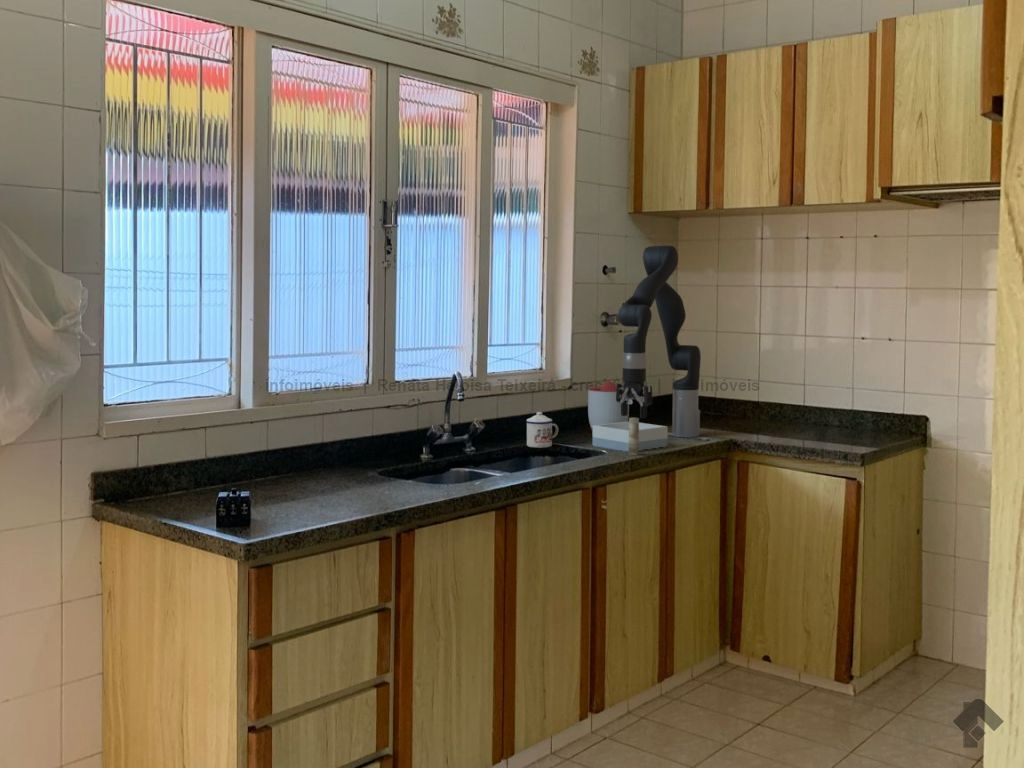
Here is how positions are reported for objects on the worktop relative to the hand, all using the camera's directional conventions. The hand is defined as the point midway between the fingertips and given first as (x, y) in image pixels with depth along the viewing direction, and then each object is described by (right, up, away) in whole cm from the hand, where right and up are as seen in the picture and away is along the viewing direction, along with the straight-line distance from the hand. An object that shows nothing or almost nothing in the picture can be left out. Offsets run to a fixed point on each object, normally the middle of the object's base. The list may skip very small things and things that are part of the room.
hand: (633, 416), depth 335 cm
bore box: (+1, -11, +20) cm, 22 cm away
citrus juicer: (-3, -8, +50) cm, 50 cm away
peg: (0, -12, +1) cm, 13 cm away
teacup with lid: (-29, -11, +22) cm, 38 cm away
